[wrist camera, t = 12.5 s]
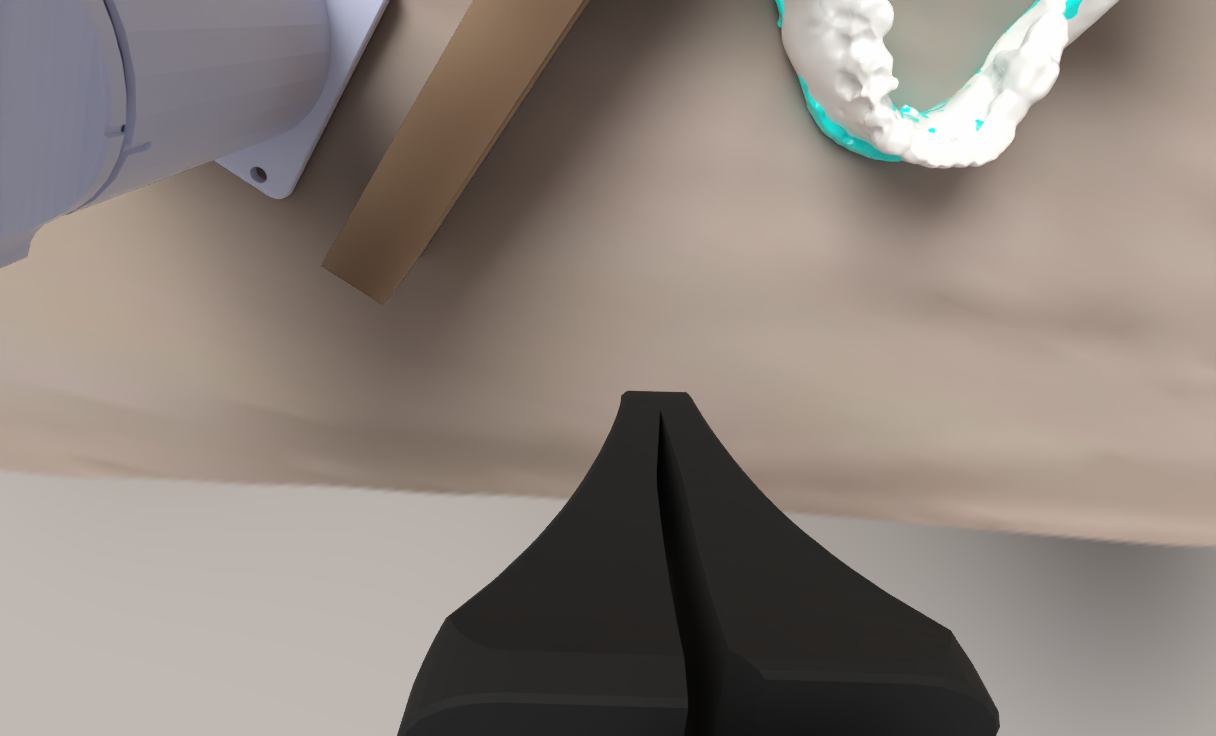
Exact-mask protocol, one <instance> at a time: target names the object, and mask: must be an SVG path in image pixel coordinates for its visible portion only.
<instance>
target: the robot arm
mask: <svg viewBox="0 0 1216 736" xmlns="http://www.w3.org/2000/svg"><path fill="white" fill-rule="evenodd" d="M389 1H390V0H0V268H2V267H4V266H7V265H9V264H11V263H14V262H16V261H19V260H21V259H23V258H26V257H27V256H28V252H29V247H30V243H31V240H32V238H33V237H34V235H35V233H36V232H37V231H38V230H39V229H40V228H41V227H42V226H43V225H45V224H47V223H49V222H51V221H53V220H55V219H57V218H59V217H61V216H63V215H67V214H70V213H73V212H76V211H79V210H81V209H84V208H87V207H89V206H92V205H95V204H97V203H100V202H103V201H105V200H108V199H111V198H113V197H116V196H119V195H122V194H124V193H127V192H130V191H132V190H135V189H138V188H140V187H143V186H146V185H148V184H151V183H154V182H157V181H159V180H162V179H165V178H167V177H170V176H173V175H175V174H178V173H181V172H183V171H186V170H189V169H191V168H194V167H197V166H200V165H202V164H205V163H208V162H210V161H213V160H214V161H215V162H217V163H218V164H220V165H221V166H223V167H224V168H226V169H227V170H229V171H231V172H232V173H234V174H235V175H237V176H238V177H240V178H241V179H243V180H244V181H246V182H247V183H249V184H251V185H252V186H254V187H255V188H257V189H258V190H260V191H261V192H263V193H264V194H266V195H267V196H269V197H271V198H274V199H283V198H285V197H287V196H289V195H290V194H291V193H292V192H293V190H294V188H295V186H296V184H297V182H298V180H299V178H300V176H301V174H302V172H303V170H304V168H305V166H306V164H307V162H308V161H309V159H310V157H311V155H312V153H313V151H314V149H315V147H316V145H317V143H318V141H319V139H320V137H321V135H322V133H323V131H324V129H325V127H326V125H327V123H328V121H329V119H330V117H331V115H332V113H333V111H334V109H335V107H336V105H337V103H338V101H339V100H340V98H341V96H342V94H343V92H344V90H345V88H346V86H347V84H348V82H349V80H350V78H351V76H352V74H353V72H354V70H355V68H356V66H357V64H358V62H359V60H360V58H361V56H362V54H363V52H364V50H365V48H366V46H367V44H368V42H369V40H370V39H371V37H372V35H373V33H374V31H375V29H376V27H377V25H378V23H379V21H380V19H381V17H382V15H383V13H384V11H385V9H386V7H387V5H388V3H389ZM257 167H260V168H262V169H263V170H264V171H265V172H266V175H267V180H264V179H262V178H261V177H260V176H259V175H258V173H257V171H256V170H257ZM999 728H1000V724H999V712H998V710H997V708H996V706H995V705H994V702H993V701H992V699H991V697H990V695H989V693H988V691H987V690H986V688H985V686H984V684H983V682H982V680H981V678H980V676H979V675H978V673H977V671H976V669H975V668H974V666H973V664H972V663H971V661H970V659H969V658H968V656H967V655H966V653H965V652H964V650H963V649H962V647H961V646H960V644H959V643H958V641H957V640H956V638H955V636H954V635H953V633H952V632H951V630H949V629H947V628H946V627H944V626H942V625H941V624H938V623H937V622H935V621H934V620H932V619H930V618H929V617H927V616H925V615H924V614H922V613H920V612H919V611H917V610H915V609H914V608H912V607H910V606H908V605H907V604H905V603H903V602H902V601H900V600H898V599H896V598H895V597H893V596H892V595H890V594H888V593H887V592H885V591H884V590H882V589H880V588H879V587H878V586H876V585H875V584H873V583H872V582H870V581H869V580H867V579H866V578H864V577H863V576H861V575H860V574H859V573H857V572H856V571H854V570H853V569H851V568H850V567H849V566H847V565H846V564H845V563H843V562H842V561H840V560H839V559H838V558H836V557H835V556H834V555H832V554H831V553H830V552H829V551H827V550H826V549H825V548H824V547H822V546H821V545H820V544H819V543H817V542H816V541H815V540H813V539H812V538H811V537H810V536H809V535H807V534H806V533H805V532H804V531H802V530H801V529H800V528H799V527H798V526H797V525H795V524H794V523H793V522H792V521H791V520H790V519H789V518H788V517H787V516H785V515H784V514H783V513H782V512H781V511H780V510H779V509H778V508H777V507H776V506H775V505H774V504H773V503H772V502H771V501H770V500H769V499H768V498H767V497H766V496H765V495H764V494H763V493H762V492H761V490H760V489H759V488H758V487H757V486H756V485H755V484H754V483H753V482H752V480H751V479H750V478H749V477H748V476H747V475H746V474H745V472H744V471H743V470H742V469H741V468H740V467H739V465H738V464H737V463H736V462H735V460H734V459H733V458H732V457H731V455H730V454H729V453H728V451H727V450H726V449H725V447H724V446H723V445H722V443H721V442H720V441H719V439H718V438H717V437H716V435H715V434H714V432H713V431H712V430H711V428H710V427H709V425H708V424H707V422H706V421H705V419H704V418H703V416H702V415H701V413H700V411H699V410H698V408H697V406H696V405H695V403H694V401H693V400H692V398H691V397H690V396H689V394H688V393H687V392H651V391H626V392H625V393H624V394H623V395H621V403H620V407H619V410H618V413H617V416H616V419H615V421H614V424H613V426H612V429H611V431H610V433H609V435H608V437H607V439H606V441H605V443H604V445H603V447H602V449H601V451H600V453H599V455H598V456H597V458H596V460H595V461H594V463H593V465H592V466H591V468H590V470H589V471H588V473H587V475H586V476H585V478H584V479H583V481H582V482H581V484H580V485H579V487H578V488H577V490H576V491H575V492H574V494H573V495H572V497H571V498H570V499H569V501H568V502H567V503H566V505H565V506H564V507H563V509H562V510H561V511H560V512H559V513H558V515H557V516H556V517H555V518H554V519H553V520H552V522H551V523H550V524H549V525H548V526H547V527H546V529H545V530H544V531H543V532H542V533H541V534H540V535H539V537H538V538H537V539H536V540H535V541H534V542H533V543H532V544H531V545H530V546H529V547H528V548H527V549H526V550H525V551H524V552H523V553H522V554H521V555H520V556H519V557H518V558H517V559H516V560H514V561H513V562H512V563H511V564H510V565H509V566H508V567H507V568H506V569H505V570H504V571H503V572H502V573H501V574H500V575H499V576H498V577H496V578H495V579H494V580H493V581H492V582H491V583H490V584H488V585H487V586H486V587H484V588H483V589H482V590H481V591H479V592H478V593H477V594H476V595H474V596H473V597H472V598H471V599H469V600H468V601H467V602H466V603H464V604H463V605H462V606H461V607H459V608H458V609H457V610H456V611H454V612H453V613H452V614H451V615H449V616H448V617H447V618H446V619H445V621H444V623H443V624H442V626H441V628H440V630H439V632H438V633H437V635H436V637H435V639H434V641H433V643H432V645H431V647H430V649H429V651H428V653H427V655H426V657H425V659H424V661H423V663H422V666H421V668H420V670H419V672H418V675H417V677H416V679H415V682H414V684H413V687H412V690H411V693H410V696H409V699H408V702H407V705H406V709H405V712H404V715H403V718H402V721H401V725H400V728H399V731H398V734H397V736H996V734H997V732H998V730H999Z"/></svg>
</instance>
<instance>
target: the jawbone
mask: <svg viewBox="0 0 1216 736" xmlns="http://www.w3.org/2000/svg"><path fill="white" fill-rule="evenodd" d="M1118 1H1119V0H1036V1H1035V3H1034V4H1033V5H1032V6H1031V7H1030V8H1029V9H1028V10H1027V11H1026V12H1025V13H1024V14H1023V15H1022V16H1021V17H1019V18H1018V19H1017V20H1016V21H1015V22H1014V23H1013V24H1012V25H1011V26H1010V27H1009V28H1008V29H1007V30H1006V31H1005V32H1004V33H1003V35H1002V36H1001V37H1000V38H999V39H998V41H997V42H996V43H995V45H994V46H993V48H992V50H991V51H990V52H989V54H988V56H987V57H986V60H985V63H984V64H983V66H982V67H981V68H980V69H979V70H978V71H977V72H976V73H975V74H974V75H973V76H972V77H971V78H970V79H969V80H968V81H967V82H966V83H965V84H964V85H963V86H962V87H961V88H960V89H959V90H958V91H957V92H956V93H955V94H954V95H953V96H951V97H950V98H949V99H947V100H945V101H943V102H942V103H940V104H938V105H936V106H934V107H932V108H930V109H928V110H926V111H923V112H919V111H918V110H916V109H915V108H913V107H911V106H909V105H904V106H903V107H901V108H900V109H897V108H896V106H895V105H894V104H893V102H892V100H891V99H890V97H889V95H888V94H889V93H890V92H891V91H892V90H894V89H896V88H897V86H898V83H899V82H898V80H897V78H894V77H893V76H892V67H893V57H892V55H891V54H890V53H889V52H888V50H887V49H886V47H885V45H884V43H883V37H884V35H885V34H886V33H887V32H888V31H889V30H890V29H891V27H892V24H893V21H894V13H893V7H892V6H891V4H890V2H889V1H888V0H775V2H776V4H777V8H778V12H779V14H780V17H779V20H778V26H779V27H780V28H781V29H782V42H783V46H784V48H785V51H786V53H787V55H788V57H789V59H790V61H791V63H792V65H793V67H794V69H795V71H796V73H797V75H798V78H799V83H800V86H801V88H802V91H803V94H804V97H805V100H806V103H807V104H806V106H807V109H808V111H809V112H810V114H811V115H812V117H813V119H814V120H815V122H816V124H817V125H818V126H819V128H820V130H821V132H822V133H824V134H825V135H826V136H828V137H829V138H831V139H832V140H834V141H835V142H836V143H837V144H839V145H841V146H843V147H845V148H846V149H848V150H850V151H852V152H855V153H857V154H859V155H863V156H865V157H868V158H871V159H873V160H883V161H888V162H899V161H905V162H908V163H912V164H919V165H921V166H924V167H928V168H941V169H947V168H950V167H957V168H965V167H967V166H972V167H979V166H982V165H984V164H986V163H988V162H991V161H993V160H995V159H996V158H997V157H998V156H999V154H1000V153H1002V152H1003V151H1004V150H1005V149H1006V148H1007V147H1008V146H1009V145H1010V144H1011V142H1012V141H1013V139H1014V137H1015V130H1016V127H1017V125H1018V124H1019V123H1020V122H1021V121H1022V119H1023V118H1024V117H1025V115H1026V114H1027V112H1028V110H1029V108H1030V107H1031V105H1032V104H1034V103H1036V102H1037V101H1039V100H1041V99H1042V98H1044V97H1045V96H1046V95H1047V94H1048V93H1049V91H1050V90H1051V88H1052V87H1053V85H1054V83H1055V82H1056V80H1057V78H1058V76H1059V72H1060V67H1059V64H1060V59H1061V56H1062V52H1063V50H1064V49H1065V48H1066V47H1067V46H1068V45H1070V44H1071V43H1072V42H1073V41H1074V40H1076V39H1077V38H1078V37H1079V36H1080V35H1081V34H1082V33H1083V32H1084V31H1085V30H1087V29H1088V28H1089V27H1090V26H1091V25H1092V24H1094V23H1095V22H1096V21H1097V20H1098V19H1099V18H1100V17H1102V16H1103V15H1104V14H1105V13H1106V12H1107V11H1108V10H1109V9H1110V8H1111V7H1112V6H1114V5H1115V4H1116V3H1117V2H1118Z"/></svg>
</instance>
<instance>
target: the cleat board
mask: <svg viewBox="0 0 1216 736" xmlns="http://www.w3.org/2000/svg"><path fill="white" fill-rule="evenodd" d="M589 2H590V0H473V1H472V3H471V5H470V7H469V8H468V10H467V12H466V14H465V15H464V17H463V19H462V21H461V22H460V24H459V26H458V28H457V29H456V31H455V33H454V35H453V36H452V38H451V40H450V42H449V43H448V45H447V47H446V48H445V50H444V52H443V54H442V55H441V57H440V59H439V61H438V62H437V64H436V66H435V68H434V69H433V71H432V73H431V75H430V76H429V78H428V80H427V82H426V83H425V85H424V87H423V89H422V90H421V92H420V94H419V96H418V97H417V99H416V101H415V103H414V104H413V106H412V108H411V110H410V111H409V113H408V115H407V117H406V118H405V120H404V122H403V124H402V125H401V127H400V129H399V131H398V132H397V134H396V136H395V138H394V139H393V141H392V143H391V144H390V146H389V148H388V150H387V151H386V153H385V155H384V157H383V158H382V160H381V162H380V164H379V165H378V167H377V169H376V171H375V172H374V174H373V176H372V178H371V179H370V181H369V183H368V185H367V186H366V188H365V190H364V192H363V193H362V195H361V197H360V199H359V200H358V202H357V204H356V206H355V207H354V209H353V211H352V213H351V214H350V216H349V218H348V220H347V221H346V223H345V225H344V227H343V228H342V230H341V232H340V233H339V235H338V237H337V239H336V240H335V242H334V244H333V246H332V247H331V249H330V251H329V253H328V254H327V256H326V258H325V260H324V261H323V263H322V265H321V266H322V267H323V268H325V269H327V270H328V271H330V272H331V273H333V274H335V275H336V276H338V277H339V278H341V279H343V280H344V281H346V282H347V283H349V284H350V285H352V286H354V287H355V288H357V289H358V290H360V291H362V292H363V293H365V294H366V295H368V296H370V297H371V298H373V299H374V300H376V301H378V302H379V303H381V304H382V305H383V304H384V302H385V301H386V300H387V298H388V297H389V296H390V295H391V293H392V292H393V291H394V289H395V288H396V287H397V286H398V284H399V283H400V282H401V280H402V279H403V278H404V277H405V275H406V274H407V273H408V272H409V270H410V269H411V268H412V266H413V265H414V264H415V263H416V261H417V260H418V259H419V257H420V256H421V254H422V253H423V251H424V250H425V248H426V247H427V245H428V244H429V242H430V241H431V239H432V238H433V236H434V235H435V233H436V232H437V230H438V229H439V227H440V226H441V224H442V223H443V221H444V220H445V218H446V217H447V215H448V214H449V212H450V211H451V209H452V208H453V206H454V205H455V203H456V202H457V200H458V199H459V197H460V196H461V194H462V193H463V191H464V190H465V188H466V187H467V185H468V184H469V182H470V181H471V179H472V178H473V176H474V175H475V173H476V172H477V170H478V169H479V167H480V166H481V164H482V163H483V161H484V160H485V158H486V157H487V155H488V154H489V152H490V151H491V149H492V148H493V146H494V145H495V143H496V142H497V140H498V139H499V137H500V136H501V134H502V133H503V131H504V130H505V128H506V127H507V125H508V124H509V122H510V121H511V119H512V118H513V116H514V114H515V113H516V111H517V110H518V108H519V107H520V105H521V104H522V102H523V101H524V99H525V98H526V96H527V95H528V93H529V92H530V90H531V89H532V87H533V86H534V84H535V83H536V81H537V80H538V78H539V77H540V75H541V74H542V72H543V71H544V69H545V68H546V66H547V65H548V63H549V62H550V60H551V59H552V57H553V56H554V54H555V53H556V51H557V50H558V48H559V47H560V45H561V44H562V42H563V41H564V39H565V38H566V36H567V35H568V33H569V32H570V30H571V29H572V27H573V26H574V24H575V23H576V21H577V20H578V18H579V17H580V15H581V14H582V12H583V11H584V9H585V8H586V6H587V5H588V3H589Z"/></svg>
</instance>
